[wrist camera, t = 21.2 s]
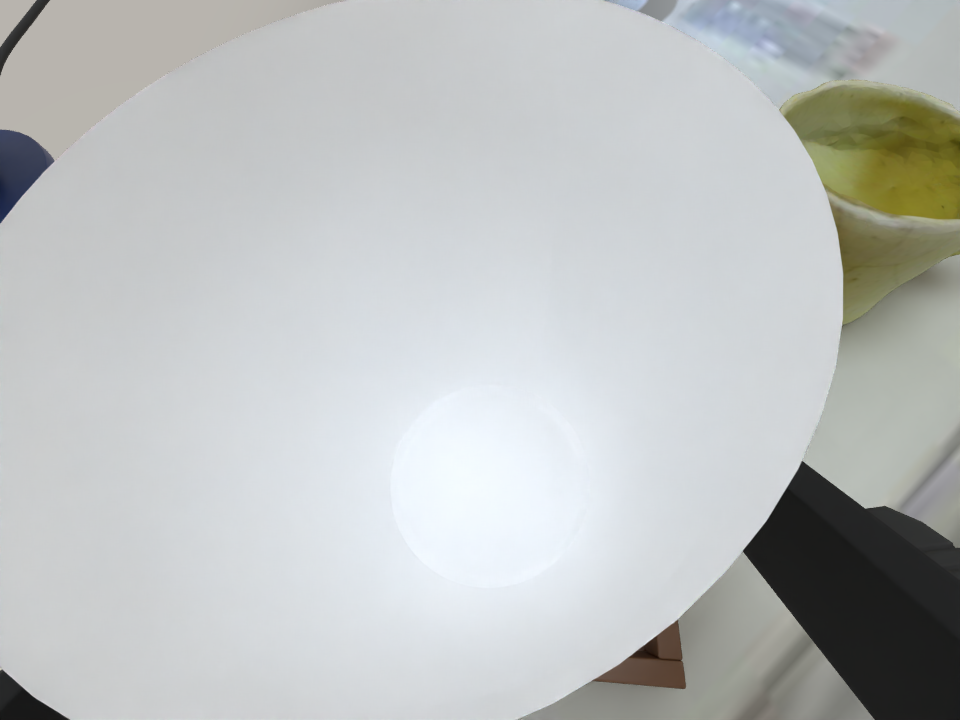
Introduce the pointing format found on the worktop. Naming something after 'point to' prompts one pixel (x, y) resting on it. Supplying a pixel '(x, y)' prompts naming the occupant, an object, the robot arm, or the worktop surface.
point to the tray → (652, 663)
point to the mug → (883, 180)
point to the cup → (401, 365)
